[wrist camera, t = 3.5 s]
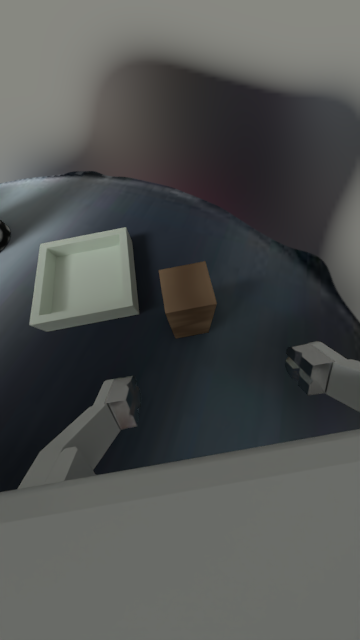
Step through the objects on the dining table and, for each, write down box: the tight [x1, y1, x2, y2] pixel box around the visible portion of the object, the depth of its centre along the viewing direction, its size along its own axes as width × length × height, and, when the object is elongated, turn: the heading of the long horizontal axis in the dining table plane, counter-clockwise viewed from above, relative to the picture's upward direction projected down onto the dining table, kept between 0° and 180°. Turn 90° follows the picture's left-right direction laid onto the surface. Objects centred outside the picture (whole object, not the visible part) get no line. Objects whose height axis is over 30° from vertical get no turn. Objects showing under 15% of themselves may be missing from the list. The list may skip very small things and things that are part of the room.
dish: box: [29, 227, 139, 332], centre depth 23 cm, size 12×12×3 cm
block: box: [159, 261, 217, 339], centre depth 18 cm, size 4×4×8 cm
